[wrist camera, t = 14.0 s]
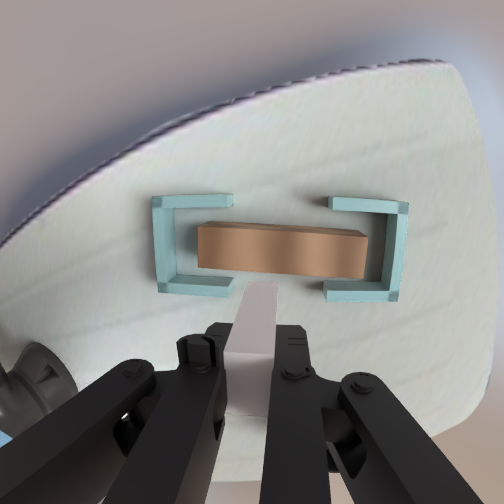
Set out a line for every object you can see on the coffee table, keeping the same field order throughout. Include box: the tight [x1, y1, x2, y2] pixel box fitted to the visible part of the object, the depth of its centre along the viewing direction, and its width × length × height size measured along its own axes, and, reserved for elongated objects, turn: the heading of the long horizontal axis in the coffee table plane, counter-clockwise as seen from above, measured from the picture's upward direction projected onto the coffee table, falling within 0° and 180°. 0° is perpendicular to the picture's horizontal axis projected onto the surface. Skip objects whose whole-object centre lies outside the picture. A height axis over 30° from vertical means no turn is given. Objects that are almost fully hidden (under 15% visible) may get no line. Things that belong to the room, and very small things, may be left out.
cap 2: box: [323, 196, 409, 302], centre depth 27 cm, size 8×10×3 cm
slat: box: [198, 221, 368, 279], centre depth 28 cm, size 16×4×4 cm, turn 88°
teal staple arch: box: [152, 194, 234, 298], centre depth 29 cm, size 8×10×3 cm
